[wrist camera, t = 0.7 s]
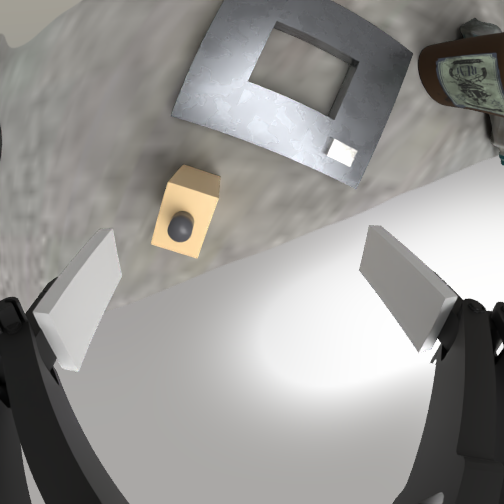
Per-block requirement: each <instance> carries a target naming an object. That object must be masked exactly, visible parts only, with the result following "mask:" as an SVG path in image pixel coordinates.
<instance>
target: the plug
mask: <svg viewBox="0 0 504 504" xmlns="http://www.w3.org/2000/svg"><path fill="white" fill-rule="evenodd" d="M219 188H220V176H217V175H214V174H211V173H208V172H205V171H202V170H199V169H196V168H193V167H190V166H187V165H182V166H181V167H180V169H179V170H178V171H177V172H176V173H175V174H174V175H173V177H172V178H171V179H170V180H169V181H168V183H167V187H166V190H165V193H164V197H163V200H162V204H161V207H160V211H159V215H158V218H157V222H156V226H155V230H154V234H153V238H152V242H151V244H152V245H155V246H159V247H162V248H165V249H168V250H171V251H175V252H178V253H181V254H184V255H188V256H191V257H194V258H198V255H199V252H200V249H201V247H202V244H203V241H204V238H205V235H206V232H207V229H208V227H209V224H210V221H211V218H212V216H213V213H214V210H215V207H216V205H217V202H218V199H219Z"/></svg>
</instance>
